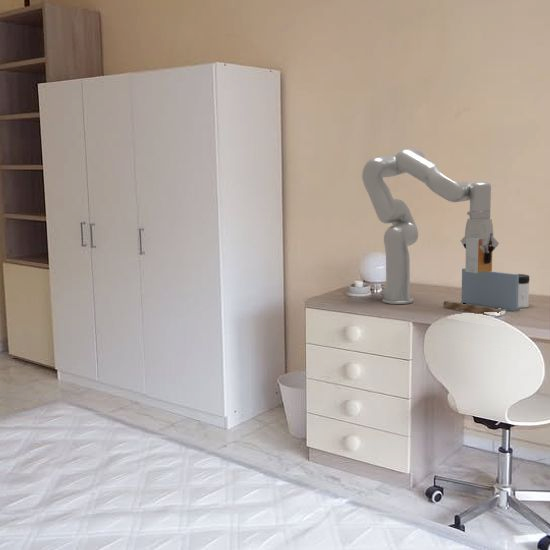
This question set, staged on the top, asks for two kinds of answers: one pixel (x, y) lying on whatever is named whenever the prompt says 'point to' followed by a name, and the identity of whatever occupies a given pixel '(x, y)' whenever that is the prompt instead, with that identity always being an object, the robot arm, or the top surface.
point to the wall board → (490, 289)
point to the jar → (523, 291)
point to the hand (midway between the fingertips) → (478, 261)
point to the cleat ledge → (469, 307)
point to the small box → (476, 257)
